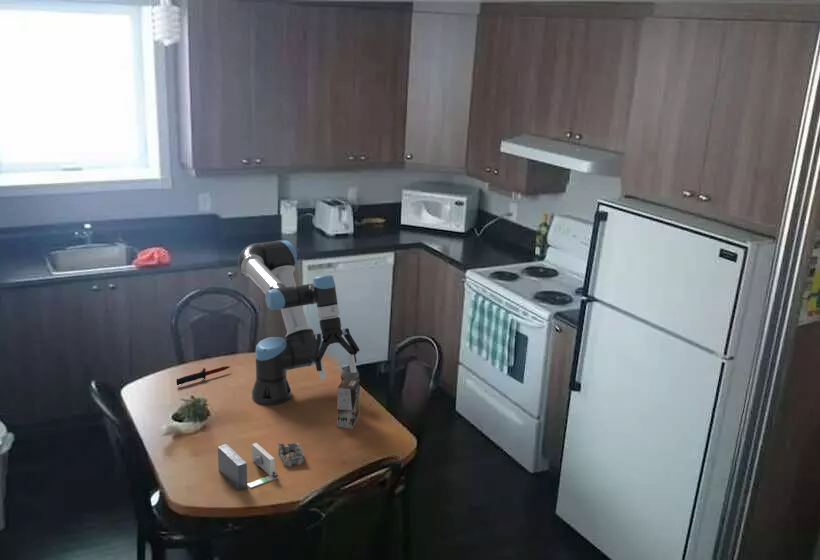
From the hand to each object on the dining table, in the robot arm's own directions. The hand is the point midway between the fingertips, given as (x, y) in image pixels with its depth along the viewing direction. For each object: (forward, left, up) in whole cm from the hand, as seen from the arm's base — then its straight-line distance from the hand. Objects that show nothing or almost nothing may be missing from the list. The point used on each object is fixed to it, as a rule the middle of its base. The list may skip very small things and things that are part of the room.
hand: (338, 376), depth 285 cm
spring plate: (+10, -37, -20) cm, 43 cm away
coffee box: (0, +5, -20) cm, 21 cm away
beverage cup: (-12, +14, -20) cm, 27 cm away
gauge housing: (+9, -41, -20) cm, 47 cm away
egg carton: (+9, -26, -21) cm, 34 cm away
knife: (-62, -23, -20) cm, 69 cm away
